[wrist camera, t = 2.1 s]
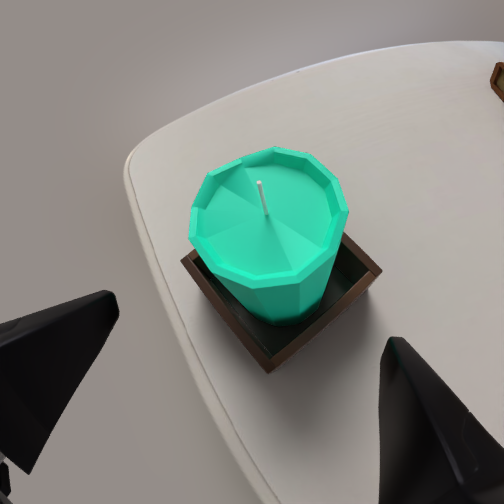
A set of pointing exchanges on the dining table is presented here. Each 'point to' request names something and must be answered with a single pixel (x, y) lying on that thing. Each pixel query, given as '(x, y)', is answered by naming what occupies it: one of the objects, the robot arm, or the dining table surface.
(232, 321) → the holder
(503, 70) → the diary
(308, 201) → the candle
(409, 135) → the dining table surface
